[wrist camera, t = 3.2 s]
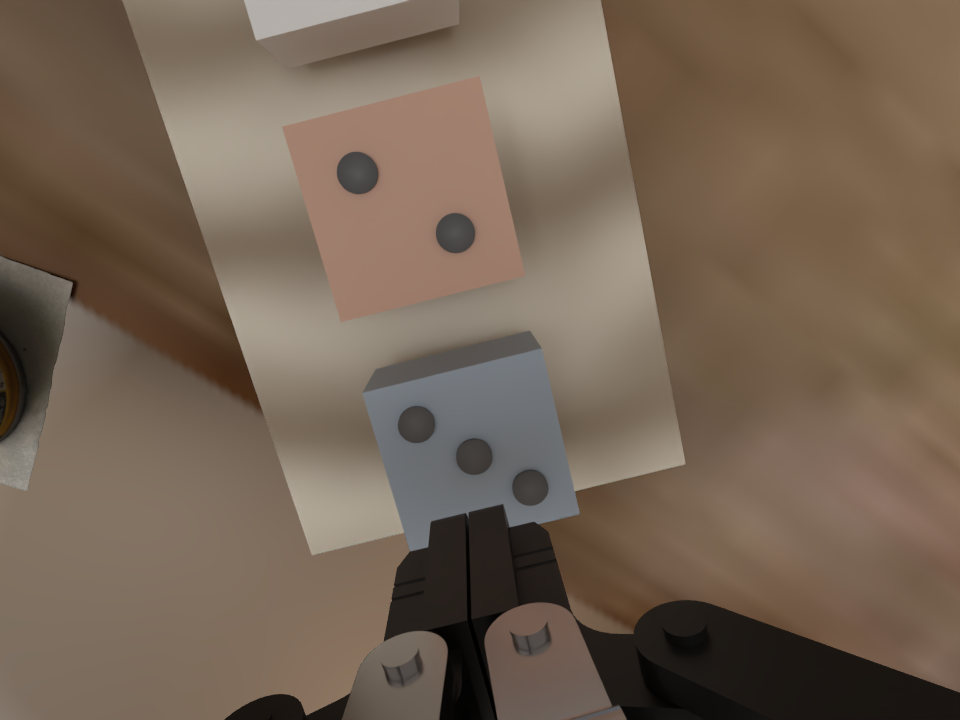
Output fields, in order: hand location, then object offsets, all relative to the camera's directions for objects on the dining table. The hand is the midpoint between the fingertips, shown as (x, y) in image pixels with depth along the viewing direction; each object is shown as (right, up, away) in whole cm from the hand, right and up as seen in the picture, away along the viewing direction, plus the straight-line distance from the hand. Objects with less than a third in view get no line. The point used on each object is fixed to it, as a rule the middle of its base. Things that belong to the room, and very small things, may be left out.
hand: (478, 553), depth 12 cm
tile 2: (-2, +8, +6) cm, 11 cm away
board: (-2, +9, +10) cm, 13 cm away
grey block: (0, +2, +8) cm, 8 cm away
